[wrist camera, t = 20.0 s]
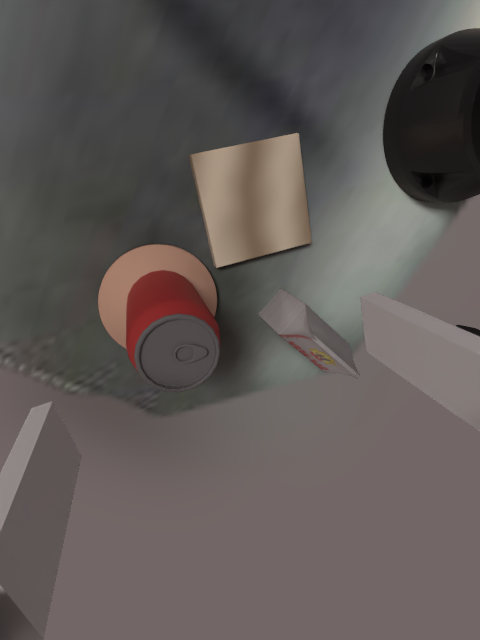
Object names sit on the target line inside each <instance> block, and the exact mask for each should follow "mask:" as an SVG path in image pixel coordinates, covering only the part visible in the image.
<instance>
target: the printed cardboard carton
mask: <svg viewBox="0 0 480 640" xmlns="http://www.w3.org/2000/svg"><path fill="white" fill-rule="evenodd" d="M258 315H259V316H260V317H261V318H262V319H263V320H264V321H265V322H266V323H267V324H268V325H269V326H270V327H272V328H273V329H274V330H275V331H276V332H277V333H278V334H279V335H280V336H281V337H282V338H284V339H285V340H286V341H287V342H288V343H290V344H291V345H292V346H293V347H295V348H296V349H297V350H298V351H299V352H301V353H302V354H303V355H304V356H306V357H307V358H308V359H309V360H310V361H312V362H313V363H314V364H315V365H317V366H318V367H319V368H320V369H321V370H323V371H324V372H332V373H340V374H346V375H350V376H353V377H355V378H357V377H356V375H355V374H354V373H356V374H358V375H360V374H359V373H358V371H357V369H356V367H355V364H354V361H353V358H352V354H351V351H350V347H349V344H348V343H347V342H346V341H345V340H344V339H343V338H342V337H341V336H340V335H339V334H337V333H336V332H335V331H334V330H333V329H332V328H331V327H330V326H329V325H328V324H326V323H325V322H324V321H323V320H322V319H321V318H320V317H319V316H318V315H317V314H316V313H314V312H313V311H312V310H311V309H310V308H309V307H308V306H307V305H306V304H304V303H303V302H301V301H300V300H298V299H297V298H295V297H294V296H292V295H291V294H289V293H288V292H286V291H284V290H283V289H281V288H280V289H279V291H278V292H277V293H276V294H275V295H274V296H273V298H272V299H271V300H270V301H269V302H268V304H267V305H266V306H265V307H264V308H263V309H262V311H261V312H260V313H259V314H258ZM353 372H354V373H353Z"/></svg>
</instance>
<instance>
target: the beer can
mask: <svg viewBox="0 0 480 640" xmlns="http://www.w3.org/2000/svg"><path fill="white" fill-rule="evenodd" d="M126 347H127V352H128V356H129V359H130V361H131V362H132V364H133V365H134V367H135V368H136V370H137V371H138V373H139V374H140V375H141V377H142V378H143V380H144V381H146V382H147V383H148V384H150V385H151V386H152V387H153V388H156V389H159V390H162V391H165V392H182V391H186V390H191V389H193V388H195V387H197V386H198V385H200V384H202V383H203V382H204V381H206V380H207V379H208V378H209V377H210V376H211V375H212V373H213V371H214V370H215V368H216V366H217V364H218V361H219V356H220V333H219V326H218V324H217V322H216V320H215V318H214V316H213V314H212V313H211V311H210V310H209V308H208V307H207V305H206V304H205V303H204V301H203V300H202V298H201V297H200V295H199V294H198V292H197V291H196V289H195V288H194V286H193V285H192V284H191V283H190V282H189V281H188V280H187V279H186V278H185V277H184V276H182V275H180V274H178V273H176V272H173V271H166V270H160V271H153V272H150V273H148V274H146V275H144V276H142V277H140V278H139V279H138V280H137V281H136V282H135V283H134V284H133V286H132V288H131V290H130V292H129V294H128V298H127V305H126Z"/></svg>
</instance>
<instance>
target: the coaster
mask: <svg viewBox="0 0 480 640" xmlns="http://www.w3.org/2000/svg"><path fill="white" fill-rule="evenodd" d="M160 270H166V271H173V272H176V273H178V274H180V275H182V276H184V277H185V278H186V279H187V280H188V281H189V282H190V283H191V284H192V285H193V286H194V288H195V289H196V291H197V292H198V294H199V295H200V297H201V298H202V300H203V301H204V303H205V304H206V305H207V307H208V308H209V310H210V311H211V313H212V314H213V316H214V317H215V313H216V308H217V293H216V288H215V284H214V281H213V279H212V277H211V275H210V273H209V272H208V270H207V269H206V267H205V266H204V265H203V264H202V263H201V262H200V261H199V260H198V259H197V258H196V257H195V256H193V255H192V254H191V253H189V252H187V251H186V250H184V249H182V248H179V247H176V246H173V245H168V244H147V245H142V246H139V247H136V248H133V249H131V250H129V251H127V252H126V253H124V254H123V255H121V256H120V257H119V258H118V259H116V260H115V261H114V262H113V264H112V265H111V266H110V267H109V269H108V270H107V272H106V273H105V275H104V278H103V280H102V283H101V286H100V290H99V296H98V307H99V313H100V317H101V320H102V322H103V324H104V327H105V328H106V330H107V331H108V333H109V334H110V335H111V337H112V338H113V339H114V340H115V341H116V342H117V343H119V344H120V345H121V346H123V347H124V348H126V349H127V347H126V305H127V298H128V294H129V292H130V290H131V288H132V286H133V284H134V283H135V282H136V281H137V280H138V279H139V278H140V277H142V276H144V275H146V274H148V273H150V272H153V271H160Z"/></svg>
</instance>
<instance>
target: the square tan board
mask: <svg viewBox="0 0 480 640" xmlns="http://www.w3.org/2000/svg"><path fill="white" fill-rule="evenodd" d="M189 159H190V163H191V168H192V172H193V176H194V181H195V185H196V189H197V194H198V198H199V202H200V207H201V211H202V216H203V220H204V224H205V229H206V233H207V237H208V242H209V246H210V250H211V255H212V259H213V263H214V266H215V267H216V268H218V267H222V266H225V265H229V264H233V263H237V262H240V261H244V260H248V259H252V258H255V257H259V256H263V255H267V254H270V253H274V252H278V251H282V250H285V249H289V248H293V247H297V246H300V245H304V244H308V243H312V242H311V233H310V225H309V216H308V208H307V200H306V191H305V183H304V174H303V166H302V158H301V149H300V141H299V133H295V134H290V135H285V136H280V137H275V138H270V139H265V140H261V141H256V142H251V143H246V144H241V145H236V146H231V147H226V148H221V149H216V150H211V151H206V152H201V153H196V154H191V155H189Z"/></svg>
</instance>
